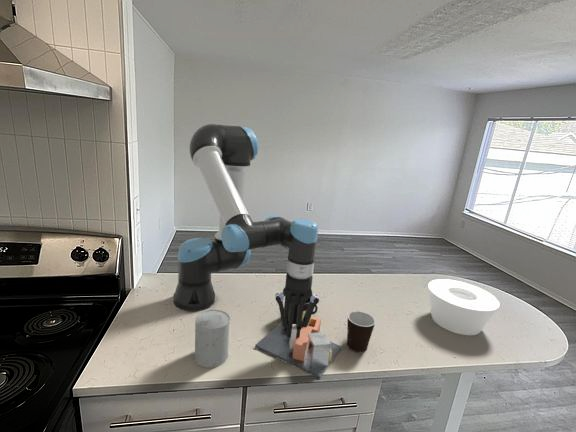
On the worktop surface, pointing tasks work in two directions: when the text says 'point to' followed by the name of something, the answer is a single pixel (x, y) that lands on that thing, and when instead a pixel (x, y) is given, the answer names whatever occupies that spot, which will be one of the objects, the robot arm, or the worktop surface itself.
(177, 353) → the worktop surface
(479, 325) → the bowl
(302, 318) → the post
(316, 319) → the link
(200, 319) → the white marble cylinder
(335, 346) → the dark grey rectangular mat
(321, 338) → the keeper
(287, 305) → the mug
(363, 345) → the coffee mug
